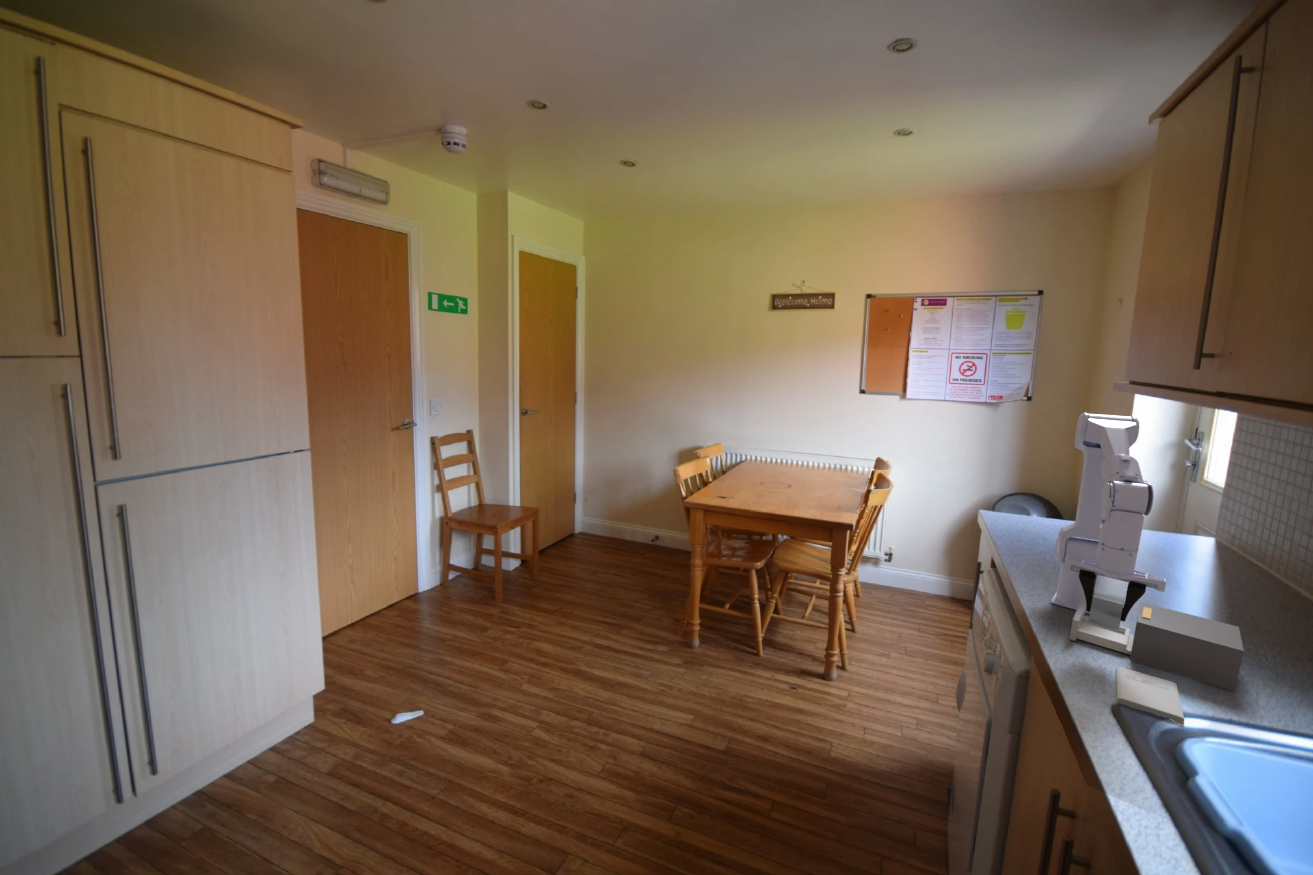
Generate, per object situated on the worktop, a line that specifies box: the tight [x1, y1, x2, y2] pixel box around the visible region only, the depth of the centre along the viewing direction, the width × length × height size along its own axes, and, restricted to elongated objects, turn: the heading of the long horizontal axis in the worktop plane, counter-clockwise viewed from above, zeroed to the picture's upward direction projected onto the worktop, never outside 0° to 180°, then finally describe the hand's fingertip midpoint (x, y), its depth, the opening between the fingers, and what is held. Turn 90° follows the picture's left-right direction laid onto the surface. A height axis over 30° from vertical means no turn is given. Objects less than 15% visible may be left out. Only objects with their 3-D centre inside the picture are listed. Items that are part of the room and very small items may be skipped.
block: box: [1088, 589, 1126, 630], centre depth 106 cm, size 4×4×5 cm
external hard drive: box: [1115, 666, 1185, 725], centre depth 96 cm, size 2×8×12 cm
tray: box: [1069, 601, 1134, 656], centre depth 112 cm, size 12×14×4 cm
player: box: [1129, 601, 1245, 693], centre depth 106 cm, size 12×14×8 cm
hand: (1105, 614), depth 106 cm, fingers closed on block, 4 cm apart
